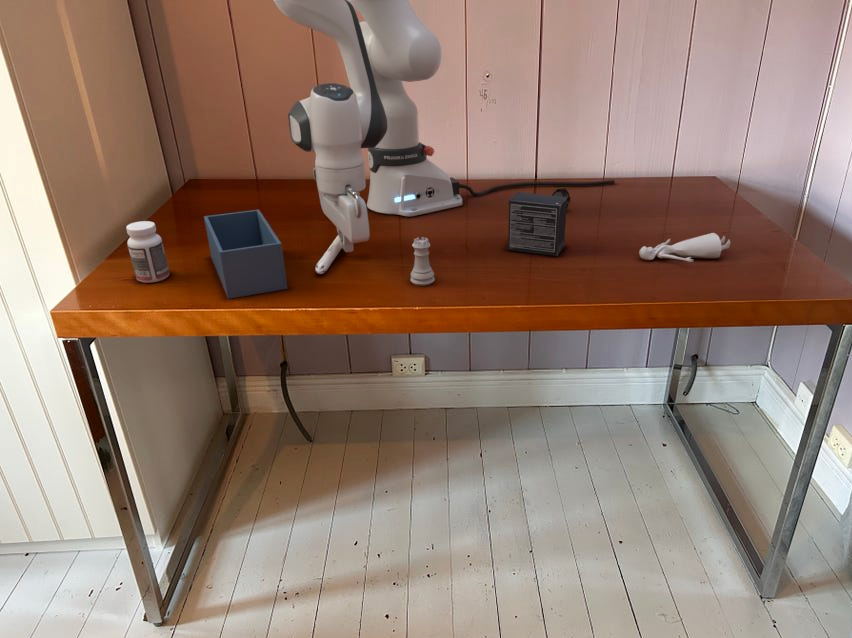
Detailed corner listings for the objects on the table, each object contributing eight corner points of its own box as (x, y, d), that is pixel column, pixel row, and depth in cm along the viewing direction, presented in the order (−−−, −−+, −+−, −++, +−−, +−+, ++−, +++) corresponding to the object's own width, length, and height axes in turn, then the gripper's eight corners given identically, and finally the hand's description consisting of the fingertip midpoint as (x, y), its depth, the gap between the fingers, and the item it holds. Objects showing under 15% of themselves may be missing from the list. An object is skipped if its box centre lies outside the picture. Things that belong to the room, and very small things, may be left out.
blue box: (265, 250, 143) (259, 209, 139) (287, 288, 128) (281, 243, 123) (211, 258, 140) (203, 216, 135) (228, 298, 124) (219, 252, 120)
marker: (324, 278, 132) (322, 266, 131) (312, 277, 132) (311, 265, 131) (347, 243, 147) (346, 232, 146) (337, 243, 148) (336, 232, 146)
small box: (565, 246, 147) (569, 195, 142) (557, 257, 142) (561, 205, 136) (515, 239, 150) (517, 190, 145) (506, 250, 145) (507, 199, 139)
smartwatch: (568, 207, 169) (569, 186, 167) (569, 214, 165) (571, 192, 162) (550, 206, 169) (551, 185, 167) (551, 213, 165) (553, 192, 162)
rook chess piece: (414, 288, 128) (413, 245, 124) (406, 278, 132) (405, 237, 128) (438, 284, 130) (437, 242, 126) (429, 275, 133) (428, 233, 129)
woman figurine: (742, 243, 136) (650, 254, 134) (739, 264, 139) (649, 276, 137) (715, 222, 146) (629, 232, 144) (712, 243, 148) (628, 253, 147)
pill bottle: (166, 269, 135) (154, 217, 130) (173, 279, 131) (161, 227, 126) (133, 275, 132) (120, 223, 127) (139, 286, 128) (126, 233, 123)
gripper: (375, 191, 126) (380, 265, 133) (342, 164, 142) (347, 231, 149) (340, 196, 124) (347, 271, 131) (310, 167, 140) (317, 235, 147)
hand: (347, 249), depth 140 cm, fingers closed
